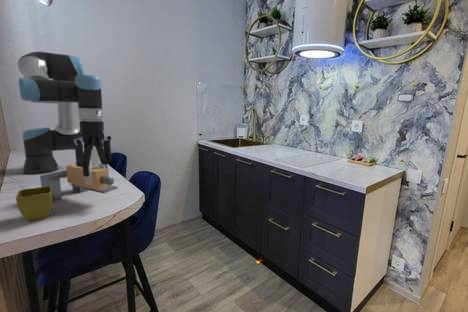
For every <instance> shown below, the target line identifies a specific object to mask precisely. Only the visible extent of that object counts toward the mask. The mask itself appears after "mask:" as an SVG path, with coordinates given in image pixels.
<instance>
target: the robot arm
mask: <svg viewBox="0 0 468 312" xmlns="http://www.w3.org/2000/svg"><path fill="white" fill-rule="evenodd" d="M17 66H18V67H17V68H18V71H19V72H20V74H22V76H23V77H20V78H18V87H19V94H20V98H21V100H22V101H25V102H27V101H28V102H35V103H36V102H43V103H44V102H48V103H49V102H50V103H51V102H52V103H57V120H58V121H57V122H58V124H56V126H55V128H54V129H51V128H50V127H38V128H37V127H35V128H31V129H26V130H24V131H23V132H22V141H23V146H24V147H23V148H24V155H25V159H24V164H23V166H22V172H23V174H25V175H41V174H47V173H48V174H50V173H54V172H55V171H56V172H57V171H58V170H59V165H58V163H57V161H56V159H55V157H54V153H53V152H56V151H57V152H58V151H69V150H72V151H74V152H75V164H76V165H77V166H78V167H82V168H83V175H84V176H85V178H86V184H88V185H93V180H92V168H91V167H89V165H91V164H90V163H91V152H92V149H93V146H95V147H96V150H97V153H98V156H99V159H100V162H101V163H102V164H101V163H100V164H99V167H101V168H106V169H108V164H110V162H112V149H111V140H112V136H110V135H105V133H104V131H105V126H104V121H103V119H104V112H103V111H104V110H103V100H102V99H103V98H102V97H103V95H102V88H103V87H102V84H101V79H100V77H99V76H96V75H92V74H85V70H84V66H83V62H82V60H81V58H79V57H78V56H73V55H69V54H61V53H54V52H53V53H52V52H46V51H34V52H33V51H31V52H29V53H25V54H24V55H22V56H21V57H20V58H19V59H18V61H17ZM78 119H79V120H80V121H79V122H78ZM78 123H79V125H78ZM103 148H104V149H103Z"/></svg>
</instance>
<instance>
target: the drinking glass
mask: <svg viewBox="0 0 468 312" xmlns="http://www.w3.org/2000/svg"><path fill="white" fill-rule="evenodd" d="M103 149H104V148H103ZM90 163H91V166H96V167H99V164H100V163H101V162H100V159H99V156H98V153H97V150H96V147H95V146H93V149H92V152H91V158H90ZM101 164H102V163H101Z"/></svg>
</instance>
